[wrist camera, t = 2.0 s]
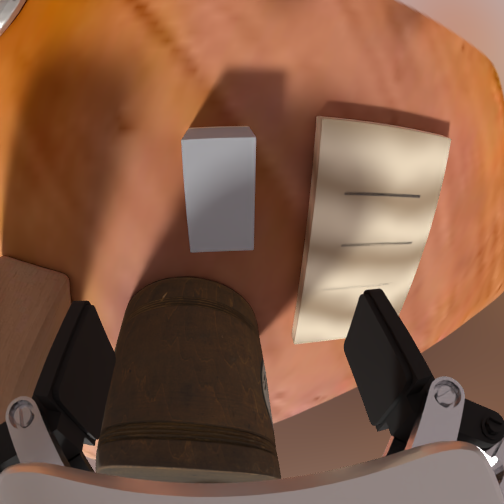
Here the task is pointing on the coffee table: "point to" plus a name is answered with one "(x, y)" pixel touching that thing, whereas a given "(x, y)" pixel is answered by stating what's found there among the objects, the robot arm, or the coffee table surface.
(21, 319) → the wooden block
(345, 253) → the board
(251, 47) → the coffee table surface
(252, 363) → the wooden container
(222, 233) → the block
